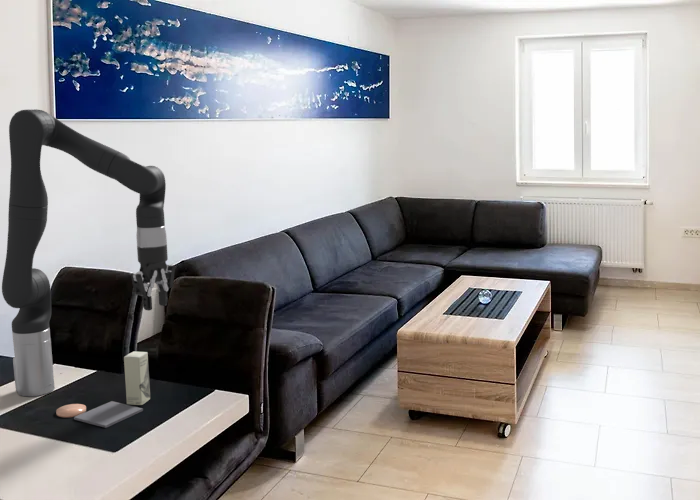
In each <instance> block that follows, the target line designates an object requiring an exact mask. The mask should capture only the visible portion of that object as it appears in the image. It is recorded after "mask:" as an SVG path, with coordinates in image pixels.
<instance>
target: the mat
mask: <svg viewBox="0 0 700 500" xmlns="http://www.w3.org/2000/svg"><path fill="white" fill-rule="evenodd" d="M143 411H144V408H142V407H138V406H135V405H129V404H127V403H121V402H117V401H113V400H111V401H109V402H106V403H104V404H101V405H99V406H97V407H95V408H92V409H90V410H88V411H87V410H86V412H85V413H83V414H80V415H78V416H75V417H73V419H74V421H78V422H83V423H86V424H90V425H93V426H97V427H102V428H105V429H107V428H109V427H111V426H113V425H115V424H118V423H119V422H122V421H124V420H126V419H128V418H130V417H133V416H135V415H137V414H139V413H142V412H143Z"/></svg>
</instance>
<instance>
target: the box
mask: <svg viewBox="0 0 700 500" xmlns="http://www.w3.org/2000/svg"><path fill="white" fill-rule="evenodd" d="M148 354H149V353H148V351H132V352H130V353H128V354H126V355H125V356H123V362H124V363H123V365H124V366H123V368H124V379H125V381H124V382H125V395H126V405H130V406H143V405H144V404H146V403H147V402H149V400H151V385H150V371H149V356H148Z"/></svg>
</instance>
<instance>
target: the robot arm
mask: <svg viewBox="0 0 700 500" xmlns="http://www.w3.org/2000/svg"><path fill="white" fill-rule="evenodd" d="M13 114H14V115H12V117H11V119H10V120H9V126H8V137H9V150H10V152H9V153H10V176H9V177H10V179H9V180H10V181H9V197H8V198H9V199H8V216H7V217H8V224H7V225H8V227H7V245H6V254H5V255H6V256H5V263H4V269H3V275H2V281H1V294H2V297H3V299H4V301H5V303H6V304H7V305H8V306H10V307H11V308H13V309H18V312H17V314H16V316H15V317H14V318H13V319H12V321H11V330H12V331H11V334H12V342H13V343H12V344H13V345H12V346H13V354H14V355H13V358H12V363H13V374H14V385H15V392H17V394H18V395H19V396H23V397H36V396H37V397H38V396H42V395H46V394H49V393H51V392H53V391H54V389H56V388H55V379H54V377H55V376H54V366H53V365H54V363H53V354H52V351H53V350H52V338H51V329H50V320H51V317H52V290H51V289H52V288H51V283H50V280H49V278H48V276H47V274H46V273H45V272H44V270H41V269H39V268H37V267H36V268H34V267H33V265H34V264H33V263H34V257H35V253H36V250H37V248H38V246H39V243H40V242H41V239H42V237H43V235H44V232H45V229H46V226H47V223H48V207H49V206H48V204H49V200H48V199H49V198H48V192H47V188H46V185H45V182H44V180H43V176H42V172H41V171H42V170H41V157H42V156H41V155H42V147H43V146H46V147H49V148H52V149H56V150H59V151H62V152H64V153H66V154H68V155H69V156H71V157H73V158H75V159H76V160H77V161H79V162H80V163H81V164H83V165H84V166H86V167H87V168H89V169H90V170H93V171H95V172H96V173H99V174H101V175H104V176H106V177H108V178H110V179H113V180H115V181H116V182H118V183H120V185H122V186H124V187H125V188H127V189H129V190H131V191H132V192H134V193H136V194H139V202H138V204H137V206H136V207H135V208H136V209H135V217H136V218H135V219H136V220H135V221H136V236H135V237H136V251H137V262H138V263H139V265H140V267H139V271H137V272H136V273H135V272H134V273H133V272H132V273H131V275H130V278H131V281H132V286H133V289H134V293H135V295H136V296H140V297H142V307H143V309H144V310H145V311H152V310H153V300H152V299H153V298H152V290H153V288H155V284H156V286H157V288H158V303H159V304H158V305H159V306H161V307H163V306H164V307H165V306H167V305H168V303H169V302H168V301H169V300H168V291H169V289H170V288H171V289H172V288H173V286H174V280H175V279H174V278H175V274H176V273H175V271H176V266H175V265H172V264H170V265H169V264H167V261H168V260H169V259H168V255H169V254H168V237H167V230H166V226H165V223H166V222H165V221H166V220H165V211H164V208H165V207H164V206H165V199H166V188H167V187H166V184H167V183H166V177H165V174H164V172H163V171H162V170H161V168H159V167H158V166H155V165H147V166H145V165H142V164H140V163H138V162H135V161H133V160H132V159H130V157H129V156H128V155H126V154H125V153H122V152H120V151H119V150H116V149H115V148H113V147H109V146H107V145H105V144H103V143H100V142H98V141H96V140H94V139H92V138H90V137H88V136H86V135H84V134H82V133H80V132H79V131H76V130H75V129H73V128H72V127H70V126H68V125H66V124H65V123H63V122H62V121H60V120H59V119H58V118H57V117H55V116H53V115H52V114H51V113H48V112H47V111H45V110H42V109H37V108H36V109H21V110H18V111H17V112H15V113H13Z"/></svg>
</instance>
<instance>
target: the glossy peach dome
mask: <svg viewBox="0 0 700 500" xmlns="http://www.w3.org/2000/svg"><path fill="white" fill-rule="evenodd" d="M55 412H56V414H55V415H56V416H57V417H59V418H74V417H75V416H78V415H80V414H83V413H85V412H87V406H86V405H85V404H83V403H70V404H65V405H63V406H60V407H58V408H56V410H55Z"/></svg>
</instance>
